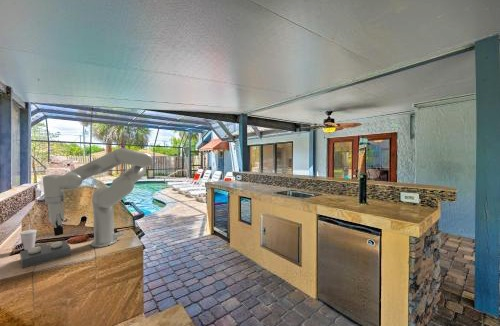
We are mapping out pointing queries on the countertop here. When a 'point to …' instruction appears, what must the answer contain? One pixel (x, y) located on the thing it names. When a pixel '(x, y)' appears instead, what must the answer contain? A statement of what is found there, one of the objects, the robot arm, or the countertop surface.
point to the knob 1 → (34, 250)
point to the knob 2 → (56, 244)
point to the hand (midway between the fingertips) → (58, 234)
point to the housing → (44, 254)
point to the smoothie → (28, 238)
